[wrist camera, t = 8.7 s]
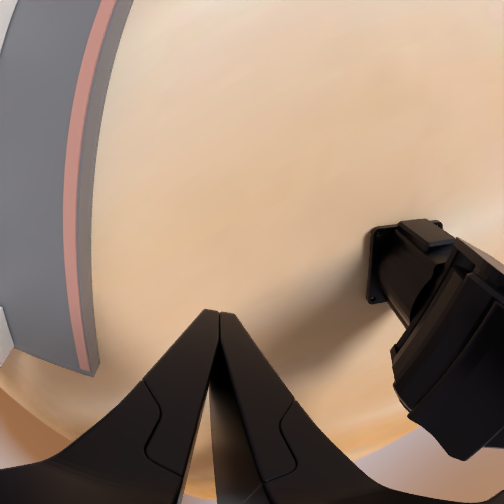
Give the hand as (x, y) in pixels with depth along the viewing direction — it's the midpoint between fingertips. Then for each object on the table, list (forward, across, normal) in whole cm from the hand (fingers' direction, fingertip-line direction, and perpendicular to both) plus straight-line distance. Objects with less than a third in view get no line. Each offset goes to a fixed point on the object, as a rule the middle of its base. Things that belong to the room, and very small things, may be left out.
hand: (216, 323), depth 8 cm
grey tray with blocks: (+12, +16, +2) cm, 20 cm away
